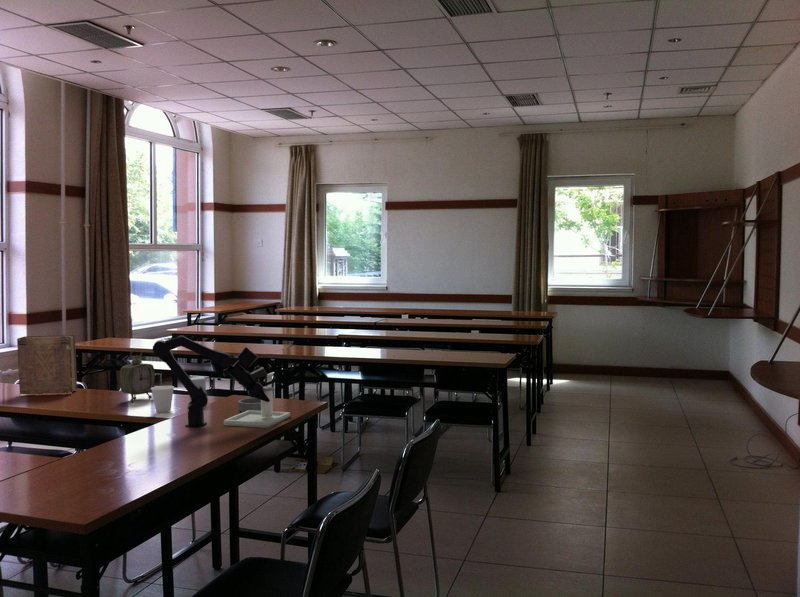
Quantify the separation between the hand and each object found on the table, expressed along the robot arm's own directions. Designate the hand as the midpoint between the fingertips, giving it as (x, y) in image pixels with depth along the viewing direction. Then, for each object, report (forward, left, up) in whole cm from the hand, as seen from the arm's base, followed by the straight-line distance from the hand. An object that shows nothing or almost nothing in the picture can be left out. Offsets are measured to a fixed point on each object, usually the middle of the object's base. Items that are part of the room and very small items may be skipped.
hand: (268, 400), depth 294 cm
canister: (0, +1, -7) cm, 7 cm away
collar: (+18, +17, -8) cm, 26 cm away
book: (+29, +142, -9) cm, 145 cm away
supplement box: (+22, +49, -9) cm, 54 cm away
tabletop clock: (+25, +85, -8) cm, 89 cm away
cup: (+4, +55, -8) cm, 55 cm away
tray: (-3, +4, -8) cm, 10 cm away
